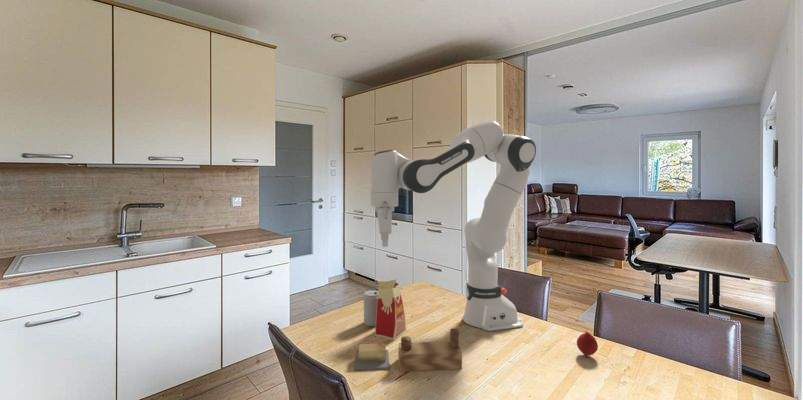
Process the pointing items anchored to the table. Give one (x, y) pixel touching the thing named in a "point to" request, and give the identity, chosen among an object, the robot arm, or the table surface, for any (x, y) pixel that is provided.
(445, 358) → the plane body
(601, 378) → the table surface
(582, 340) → the onion
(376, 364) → the mat
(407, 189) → the robot arm
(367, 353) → the wooden block
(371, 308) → the beverage can
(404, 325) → the milk carton
